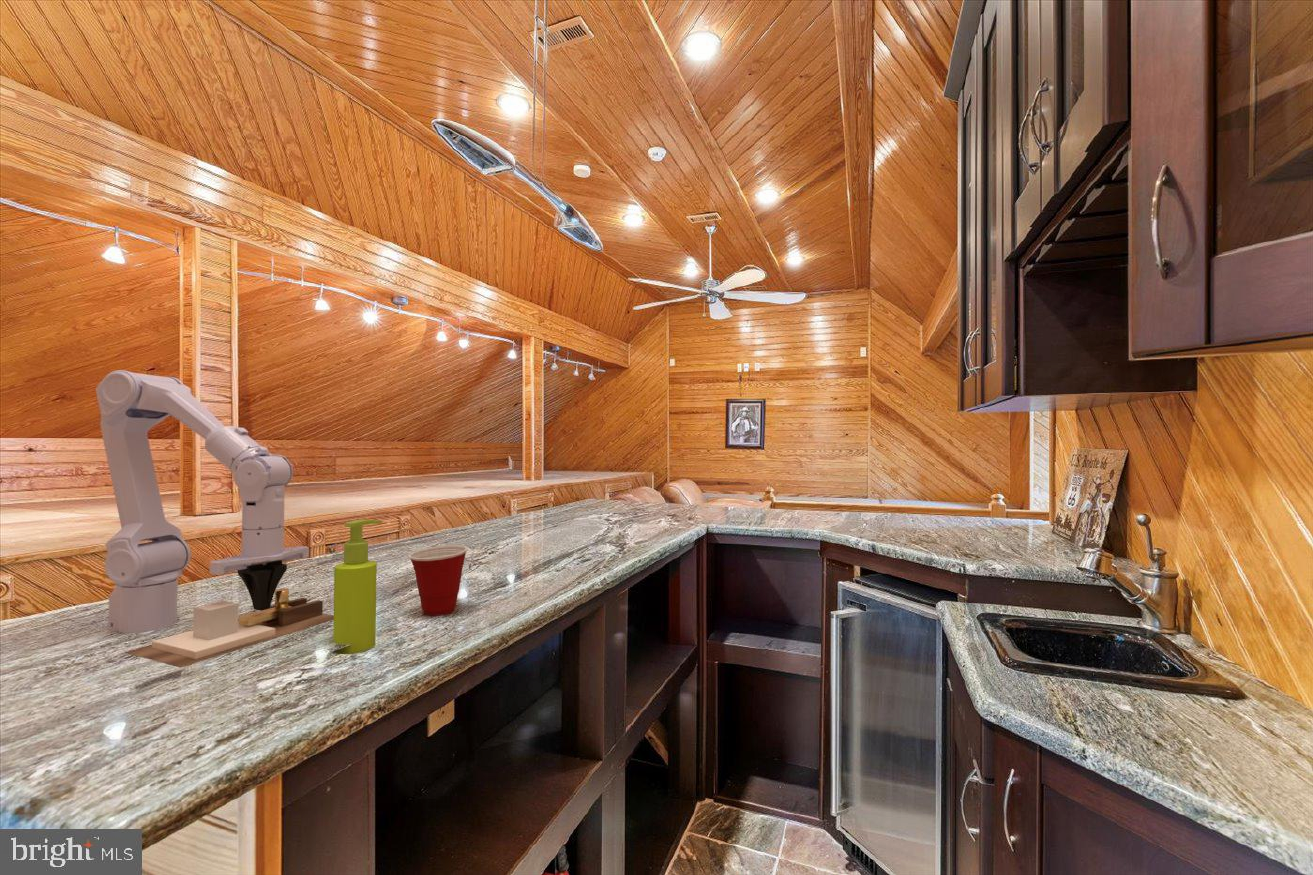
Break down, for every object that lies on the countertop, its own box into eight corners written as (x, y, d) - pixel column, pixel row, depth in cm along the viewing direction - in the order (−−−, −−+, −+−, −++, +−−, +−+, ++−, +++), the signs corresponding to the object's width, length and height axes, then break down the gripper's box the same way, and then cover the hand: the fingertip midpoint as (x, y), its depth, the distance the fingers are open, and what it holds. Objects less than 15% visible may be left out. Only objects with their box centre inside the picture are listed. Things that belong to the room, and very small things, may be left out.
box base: (124, 662, 80) (125, 635, 80) (289, 615, 102) (289, 594, 102) (180, 678, 74) (181, 648, 74) (341, 625, 96) (341, 602, 96)
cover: (151, 647, 81) (152, 611, 81) (232, 625, 91) (233, 593, 92) (195, 659, 77) (196, 620, 77) (275, 634, 87) (275, 600, 87)
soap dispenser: (389, 642, 88) (391, 519, 89) (349, 656, 82) (351, 524, 82) (364, 636, 91) (366, 517, 91) (324, 650, 85) (326, 522, 85)
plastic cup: (397, 611, 105) (398, 549, 105) (452, 600, 112) (452, 542, 113) (421, 624, 97) (422, 557, 97) (477, 611, 105) (478, 549, 105)
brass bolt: (239, 623, 88) (239, 598, 89) (282, 611, 95) (283, 587, 95) (248, 625, 88) (248, 599, 88) (291, 613, 94) (292, 589, 94)
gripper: (229, 535, 83) (228, 625, 82) (320, 523, 96) (319, 600, 96) (202, 532, 85) (200, 619, 85) (294, 521, 99) (293, 596, 98)
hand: (261, 609), depth 91 cm, fingers closed
